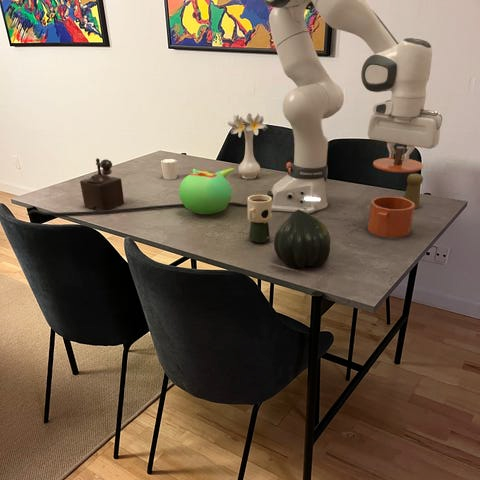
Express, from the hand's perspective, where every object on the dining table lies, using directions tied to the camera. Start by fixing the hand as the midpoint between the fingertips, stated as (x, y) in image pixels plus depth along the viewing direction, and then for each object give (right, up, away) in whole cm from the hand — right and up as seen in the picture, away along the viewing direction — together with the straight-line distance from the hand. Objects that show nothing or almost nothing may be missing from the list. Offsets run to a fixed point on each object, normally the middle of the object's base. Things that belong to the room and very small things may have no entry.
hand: (398, 159), depth 138 cm
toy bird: (-57, -9, +29) cm, 64 cm away
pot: (+1, -18, +12) cm, 22 cm away
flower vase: (-42, +14, +64) cm, 78 cm away
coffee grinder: (-93, -6, +35) cm, 99 cm away
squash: (-29, -30, -6) cm, 42 cm away
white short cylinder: (-75, +14, +65) cm, 100 cm away
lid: (0, -1, +1) cm, 2 cm away
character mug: (-40, -22, +8) cm, 46 cm away
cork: (+15, -6, +32) cm, 35 cm away
